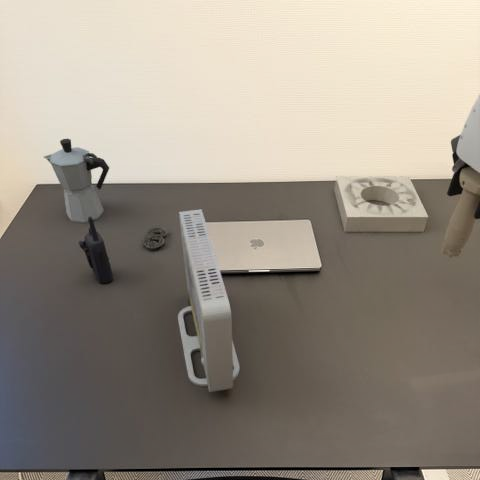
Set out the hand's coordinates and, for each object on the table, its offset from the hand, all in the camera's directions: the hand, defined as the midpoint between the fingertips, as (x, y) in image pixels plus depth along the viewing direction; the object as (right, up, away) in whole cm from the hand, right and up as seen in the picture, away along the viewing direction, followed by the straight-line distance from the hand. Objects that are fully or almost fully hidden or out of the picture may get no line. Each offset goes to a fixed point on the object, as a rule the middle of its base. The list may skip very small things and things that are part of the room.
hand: (468, 204), depth 77 cm
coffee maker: (-74, +6, +35) cm, 82 cm away
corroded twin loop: (-57, -1, +27) cm, 63 cm away
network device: (-44, -23, +6) cm, 50 cm away
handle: (0, -7, +7) cm, 10 cm away
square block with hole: (-5, +7, +36) cm, 37 cm away
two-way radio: (-66, -11, +19) cm, 70 cm away
